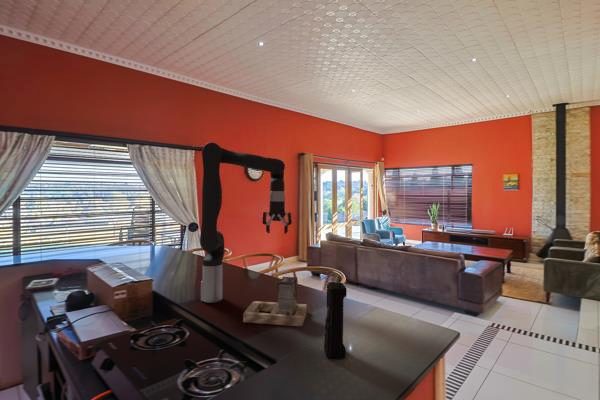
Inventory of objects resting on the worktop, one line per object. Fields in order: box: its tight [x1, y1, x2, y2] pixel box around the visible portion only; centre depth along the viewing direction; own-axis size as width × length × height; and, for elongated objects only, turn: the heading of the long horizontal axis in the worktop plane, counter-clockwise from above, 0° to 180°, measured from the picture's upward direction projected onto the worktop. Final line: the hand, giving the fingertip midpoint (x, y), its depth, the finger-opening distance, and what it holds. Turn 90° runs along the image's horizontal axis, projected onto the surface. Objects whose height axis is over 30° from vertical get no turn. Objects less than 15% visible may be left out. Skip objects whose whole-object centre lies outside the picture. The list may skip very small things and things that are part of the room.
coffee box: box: [277, 276, 298, 315], centre depth 127 cm, size 9×6×16 cm
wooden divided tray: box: [242, 300, 308, 327], centre depth 128 cm, size 24×14×4 cm, turn 82°
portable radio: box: [323, 279, 347, 360], centre depth 99 cm, size 8×6×25 cm
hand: (277, 233), depth 150 cm, fingers open, 8 cm apart
